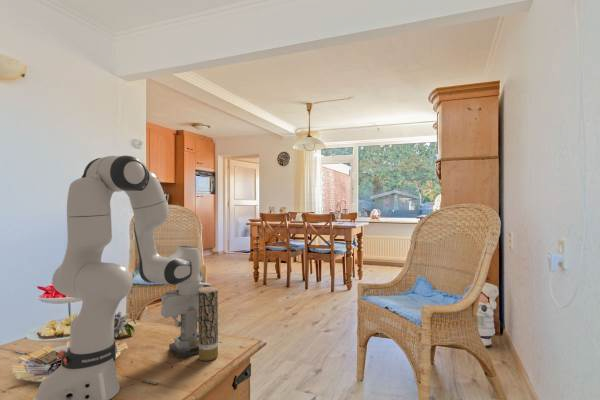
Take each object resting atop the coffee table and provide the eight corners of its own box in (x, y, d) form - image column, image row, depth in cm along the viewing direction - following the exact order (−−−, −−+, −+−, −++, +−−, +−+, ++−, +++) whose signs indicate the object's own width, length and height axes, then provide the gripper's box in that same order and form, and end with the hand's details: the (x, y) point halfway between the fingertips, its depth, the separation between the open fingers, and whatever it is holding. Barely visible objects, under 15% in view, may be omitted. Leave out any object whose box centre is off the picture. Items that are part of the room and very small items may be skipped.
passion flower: (110, 352, 142) (91, 330, 140) (124, 337, 153) (107, 317, 151) (131, 338, 140) (112, 316, 139) (143, 324, 151) (126, 303, 150)
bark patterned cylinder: (212, 362, 121) (212, 291, 121) (195, 360, 122) (195, 290, 122) (221, 354, 127) (220, 286, 128) (204, 352, 129) (204, 286, 129)
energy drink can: (197, 346, 130) (197, 306, 130) (180, 348, 128) (180, 308, 128) (196, 340, 135) (196, 302, 135) (180, 342, 133) (180, 303, 134)
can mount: (180, 359, 123) (180, 345, 123) (169, 349, 132) (169, 336, 132) (208, 350, 131) (208, 337, 131) (196, 341, 139) (196, 329, 139)
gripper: (164, 294, 122) (164, 333, 122) (216, 285, 136) (216, 320, 136) (158, 290, 127) (158, 328, 127) (209, 282, 140) (209, 316, 140)
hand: (189, 323), depth 131 cm, fingers open, 7 cm apart
